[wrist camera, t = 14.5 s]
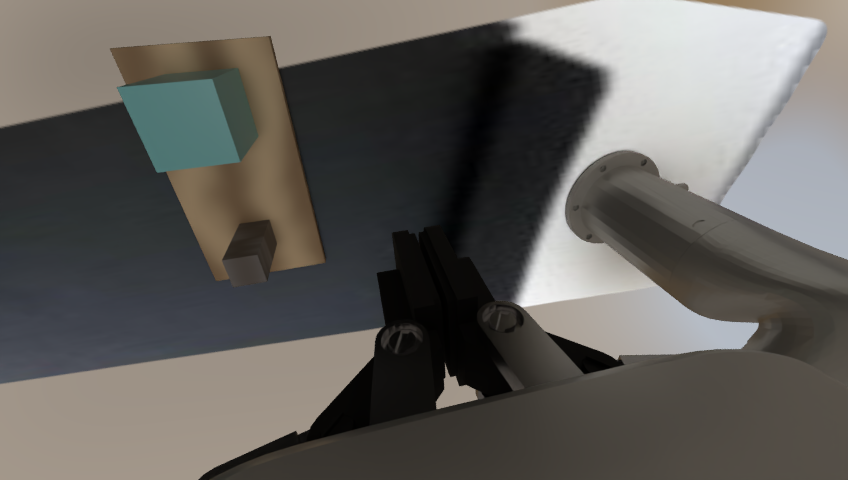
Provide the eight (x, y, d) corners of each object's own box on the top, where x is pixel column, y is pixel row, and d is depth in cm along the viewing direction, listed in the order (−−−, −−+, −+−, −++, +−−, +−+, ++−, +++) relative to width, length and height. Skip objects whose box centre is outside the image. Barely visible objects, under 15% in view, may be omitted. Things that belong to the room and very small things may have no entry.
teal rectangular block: (237, 67, 31) (212, 78, 24) (258, 136, 34) (240, 162, 27) (164, 74, 30) (116, 87, 23) (192, 143, 33) (157, 172, 26)
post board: (270, 36, 31) (252, 38, 24) (325, 258, 43) (324, 301, 36) (116, 47, 29) (50, 54, 22) (218, 275, 41) (195, 324, 34)
